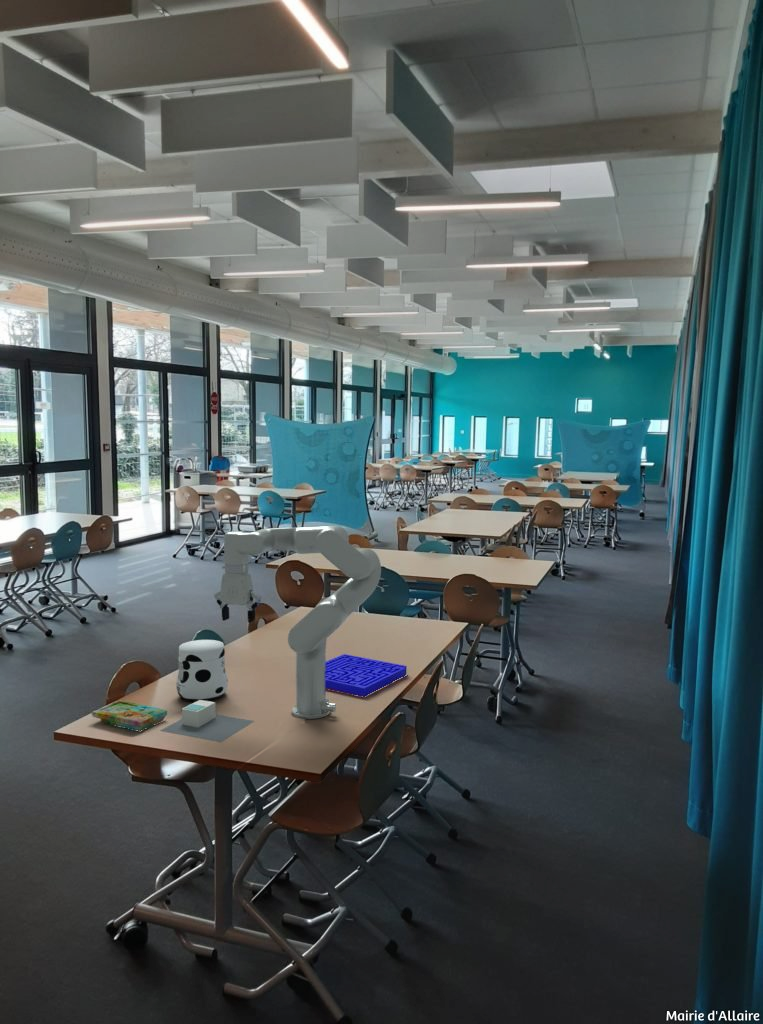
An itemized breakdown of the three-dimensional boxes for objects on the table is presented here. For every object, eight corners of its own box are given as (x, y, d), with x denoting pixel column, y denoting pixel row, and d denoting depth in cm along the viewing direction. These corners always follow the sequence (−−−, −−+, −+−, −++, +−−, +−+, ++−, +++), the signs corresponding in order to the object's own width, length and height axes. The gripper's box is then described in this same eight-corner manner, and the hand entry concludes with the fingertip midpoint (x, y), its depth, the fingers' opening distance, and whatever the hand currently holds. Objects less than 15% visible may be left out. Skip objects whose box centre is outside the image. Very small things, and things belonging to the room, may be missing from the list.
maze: (364, 699, 258) (364, 688, 258) (296, 684, 275) (296, 673, 274) (408, 676, 283) (408, 666, 283) (344, 663, 300) (344, 654, 299)
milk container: (237, 691, 265) (236, 641, 263) (210, 707, 249) (209, 654, 247) (195, 685, 271) (194, 637, 269) (166, 701, 254) (164, 649, 253)
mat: (254, 722, 235) (254, 721, 235) (220, 744, 219) (220, 742, 219) (196, 712, 244) (196, 711, 244) (160, 732, 227) (160, 730, 227)
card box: (198, 727, 230) (197, 711, 229) (182, 724, 232) (181, 708, 231) (215, 717, 238) (215, 701, 237) (200, 714, 240) (199, 699, 240)
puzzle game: (139, 720, 225) (91, 709, 234) (139, 735, 226) (92, 723, 235) (166, 707, 236) (120, 697, 245) (167, 722, 236) (120, 711, 245)
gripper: (207, 569, 244) (209, 621, 246) (253, 572, 238) (255, 625, 239) (220, 566, 251) (222, 616, 253) (265, 568, 245) (267, 620, 246)
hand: (238, 620), depth 246 cm, fingers open, 9 cm apart
